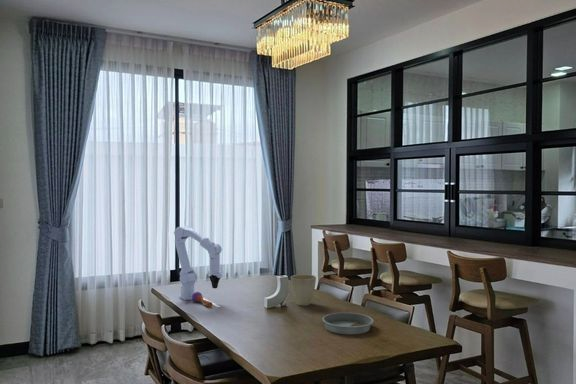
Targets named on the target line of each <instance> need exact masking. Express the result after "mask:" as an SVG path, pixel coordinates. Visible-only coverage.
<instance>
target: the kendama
mask: <svg viewBox="0 0 576 384" xmlns="http://www.w3.org/2000/svg"><path fill="white" fill-rule="evenodd" d="M203 298H204V297H203V294H202V293H201V292H200V291H194V294H193V295H192V299H191V300H192V301H193V302H195V303H200V302H202V303H203V304H204V305H206V307H207V308H209V307H210V308H212V307H213V306H214V305H213V304H212V302H213V301H211V302H209V301H210V300H209V301H206V300H203Z"/></svg>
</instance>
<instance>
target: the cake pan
mask: <svg viewBox="0 0 576 384" xmlns="http://www.w3.org/2000/svg"><path fill="white" fill-rule="evenodd" d="M321 320H322V321H323V323H324V326H325V329H326V330H327V331H329V332H332V333H335V334H340V335H341V334H342V335H360V334H364V333H367V332H369V331H370V330H371V325H373V323H374V319H373V318H372V317H371V316H369V315H366V314H362V313H358V312H333V313H329V314H326V315H324V316H323V317H322V319H321ZM354 324H355V325H356V324H362V325H356V326H355V325H354ZM352 325H353V326H352Z"/></svg>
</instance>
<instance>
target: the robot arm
mask: <svg viewBox="0 0 576 384" xmlns="http://www.w3.org/2000/svg"><path fill="white" fill-rule="evenodd" d="M173 234H174V245H175V248H176V252H177V255H178V256H177V257H178V259H179V264H180V267H181V268H180V269H181V270H180V272H179V282H180V284H181V285H180V296H179V298H180V299H182V300H184V301H189V300H193V299H192V295H193V294H194V293H195V284H196V281H197V280H198V276H197V274H196V272H195V269H194V268H192V267H191V263H190V260H189V255H188V251H187V248H186V240H187V239H188V238H192V239H193V240H195V241H197V242H198V243H199V246H200V247H202V248H203V249H205V250H206V251H207V253H208V254H209V255H208V256H209V270H208V275H209V276H208V279H209V280H210V283H211V287H212V289H218V286H219V283H220V280H221V279H222V271H220V270H221V267H220V265H221V264H220V263H221V262H220V261H221V260H220V259H221V257H220V254H221V253H222V250H223V249H222V246H221V245H220V244H219V243H217V244H216V243H215V242H214V241H211V240H210V238H209V237H203V236H201V235H200V234H199V233H198V232H197V231H196V230H195V229H194V228H193V227H191V226H189V225H187V226H186V225H185V226H177V227H176V228H175V230H174V232H173Z"/></svg>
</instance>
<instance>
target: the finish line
mask: <svg viewBox="0 0 576 384" xmlns="http://www.w3.org/2000/svg"><path fill="white" fill-rule="evenodd" d="M203 300H206V301H209V302H212V304H213V305H212V306H214V307H216V308H221V306H220V305H218V304H216V303H214V302H213V301H210V300H208V299H207V298H205V297H203Z"/></svg>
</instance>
